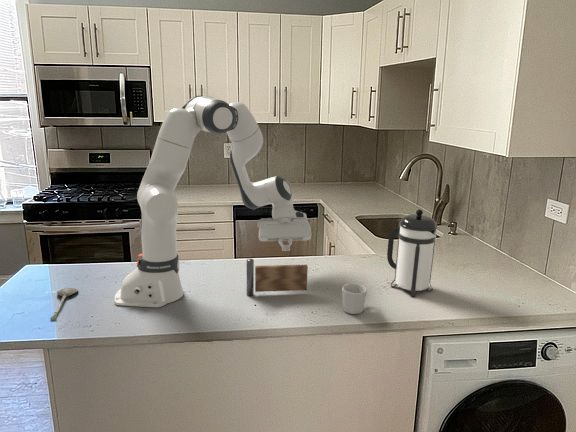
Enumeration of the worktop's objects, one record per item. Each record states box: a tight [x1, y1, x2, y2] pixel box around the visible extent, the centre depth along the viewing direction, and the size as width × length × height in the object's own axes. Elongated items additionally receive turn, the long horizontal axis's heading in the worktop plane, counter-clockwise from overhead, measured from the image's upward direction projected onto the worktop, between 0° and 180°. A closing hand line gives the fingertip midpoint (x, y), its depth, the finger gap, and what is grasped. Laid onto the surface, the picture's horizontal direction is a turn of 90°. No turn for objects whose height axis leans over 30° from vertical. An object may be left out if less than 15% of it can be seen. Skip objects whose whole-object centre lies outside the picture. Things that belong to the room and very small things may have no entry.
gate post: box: [246, 258, 255, 297], centre depth 150 cm, size 2×2×13 cm
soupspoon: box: [49, 287, 79, 321], centre depth 142 cm, size 22×3×7 cm
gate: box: [254, 264, 309, 293], centre depth 151 cm, size 18×2×9 cm, turn 97°
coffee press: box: [386, 209, 438, 298], centre depth 157 cm, size 17×16×30 cm
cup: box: [341, 282, 368, 315], centre depth 142 cm, size 11×8×8 cm
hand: (286, 250), depth 164 cm, fingers closed
